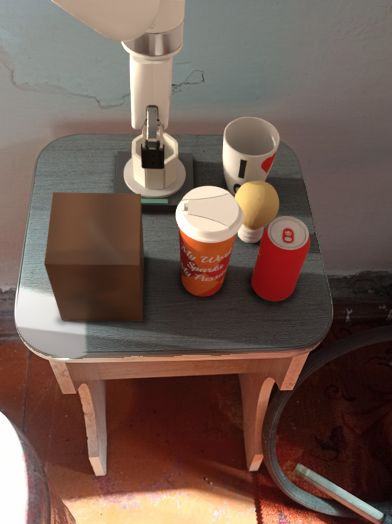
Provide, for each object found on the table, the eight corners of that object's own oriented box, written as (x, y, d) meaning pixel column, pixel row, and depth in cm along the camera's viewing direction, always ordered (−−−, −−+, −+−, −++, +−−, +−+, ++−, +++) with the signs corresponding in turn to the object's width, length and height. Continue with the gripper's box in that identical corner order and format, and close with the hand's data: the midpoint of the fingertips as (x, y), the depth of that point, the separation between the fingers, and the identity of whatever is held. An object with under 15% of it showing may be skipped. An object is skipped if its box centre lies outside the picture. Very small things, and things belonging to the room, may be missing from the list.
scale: (115, 210, 86) (114, 201, 84) (118, 158, 91) (117, 148, 89) (193, 212, 87) (194, 203, 85) (192, 159, 92) (192, 150, 90)
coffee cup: (172, 301, 79) (174, 232, 66) (175, 254, 83) (177, 180, 69) (231, 305, 79) (245, 237, 66) (231, 258, 83) (245, 184, 70)
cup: (225, 209, 87) (233, 160, 78) (211, 171, 91) (216, 120, 82) (275, 200, 89) (287, 151, 80) (258, 163, 92) (269, 113, 83)
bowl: (132, 188, 86) (131, 164, 81) (133, 156, 89) (132, 130, 84) (177, 189, 86) (178, 165, 82) (177, 157, 89) (177, 131, 85)
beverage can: (293, 270, 83) (313, 215, 72) (293, 306, 80) (313, 254, 69) (251, 265, 83) (265, 210, 72) (249, 301, 80) (262, 248, 69)
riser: (61, 320, 77) (44, 264, 65) (68, 255, 82) (52, 191, 70) (142, 321, 77) (139, 264, 66) (144, 256, 82) (141, 193, 71)
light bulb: (269, 220, 87) (281, 172, 78) (271, 253, 84) (284, 207, 75) (228, 218, 86) (235, 170, 78) (228, 251, 84) (236, 205, 75)
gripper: (123, -15, 71) (129, 101, 86) (117, 75, 63) (125, 186, 78) (182, -12, 71) (178, 103, 86) (185, 78, 63) (179, 188, 78)
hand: (153, 142), depth 82 cm, fingers open, 9 cm apart
